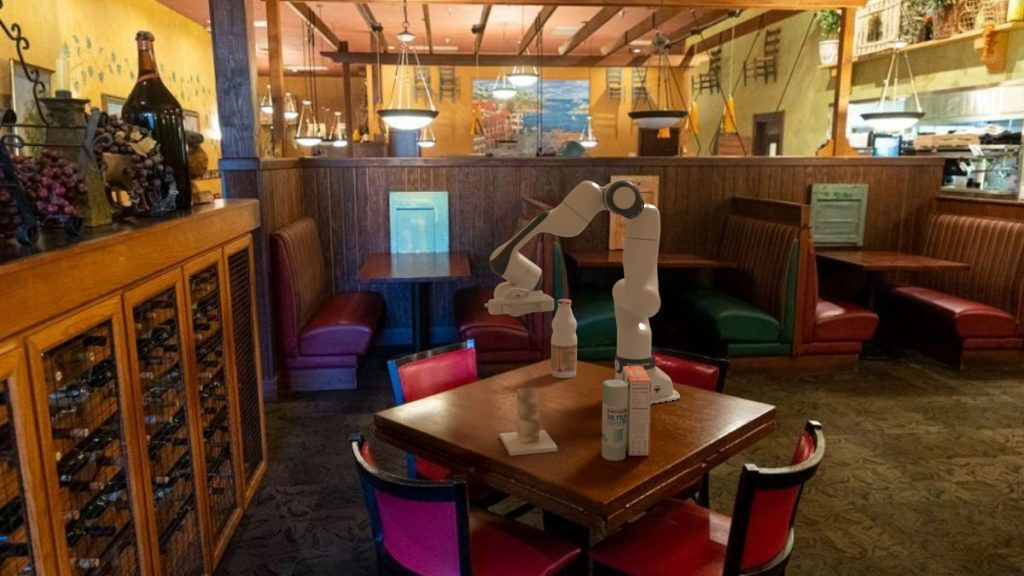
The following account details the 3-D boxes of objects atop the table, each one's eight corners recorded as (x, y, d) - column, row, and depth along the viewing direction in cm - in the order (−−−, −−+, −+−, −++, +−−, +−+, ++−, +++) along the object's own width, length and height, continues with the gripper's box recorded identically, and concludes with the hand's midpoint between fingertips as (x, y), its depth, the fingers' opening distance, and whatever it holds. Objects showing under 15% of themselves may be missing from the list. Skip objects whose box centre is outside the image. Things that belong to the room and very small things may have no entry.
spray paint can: (605, 461, 183) (606, 387, 179) (598, 452, 189) (599, 380, 186) (629, 460, 184) (631, 386, 180) (621, 450, 190) (623, 378, 187)
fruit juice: (546, 376, 257) (547, 301, 253) (557, 370, 266) (558, 297, 261) (570, 380, 253) (571, 303, 248) (580, 373, 261) (581, 299, 256)
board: (544, 433, 202) (544, 429, 202) (557, 451, 189) (557, 446, 189) (499, 437, 199) (499, 433, 199) (510, 455, 187) (510, 451, 186)
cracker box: (620, 436, 200) (622, 365, 196) (641, 436, 200) (643, 365, 196) (626, 456, 186) (628, 380, 182) (649, 456, 186) (652, 380, 182)
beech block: (534, 435, 197) (534, 387, 195) (539, 442, 192) (539, 393, 190) (517, 437, 196) (517, 388, 194) (521, 444, 191) (521, 394, 189)
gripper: (482, 293, 219) (492, 301, 205) (546, 290, 223) (559, 297, 210) (483, 313, 220) (493, 323, 206) (546, 309, 225) (559, 318, 211)
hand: (527, 310), depth 208 cm, fingers open, 8 cm apart
